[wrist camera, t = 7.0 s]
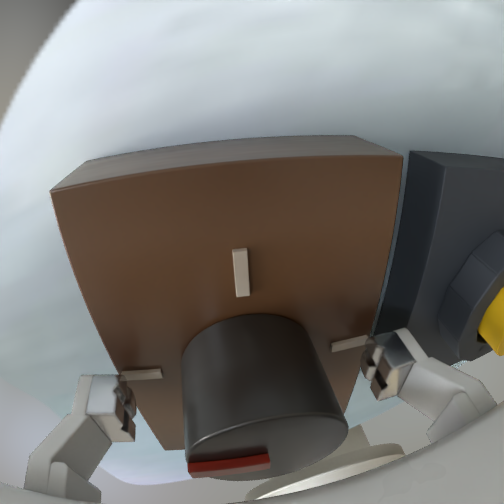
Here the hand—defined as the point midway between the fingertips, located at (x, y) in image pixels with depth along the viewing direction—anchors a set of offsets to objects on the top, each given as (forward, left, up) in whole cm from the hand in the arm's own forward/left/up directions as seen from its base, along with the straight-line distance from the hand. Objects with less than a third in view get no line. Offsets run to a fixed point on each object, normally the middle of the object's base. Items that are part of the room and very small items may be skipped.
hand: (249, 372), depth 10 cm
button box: (0, -12, -4) cm, 12 cm away
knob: (0, 0, 0) cm, 0 cm away
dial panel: (0, 0, -4) cm, 4 cm away
